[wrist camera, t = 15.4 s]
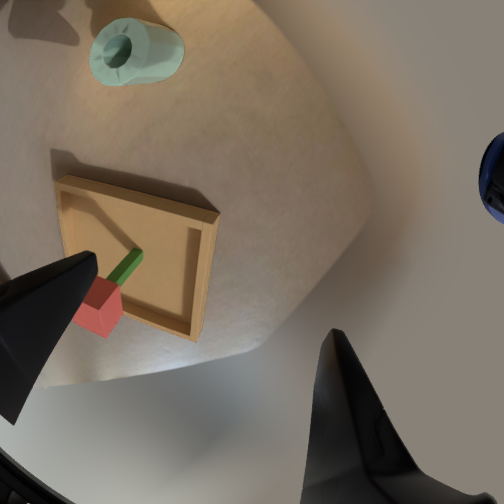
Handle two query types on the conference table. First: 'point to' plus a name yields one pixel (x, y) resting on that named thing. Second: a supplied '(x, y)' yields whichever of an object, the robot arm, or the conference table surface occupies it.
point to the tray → (144, 249)
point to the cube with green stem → (107, 297)
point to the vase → (135, 53)
